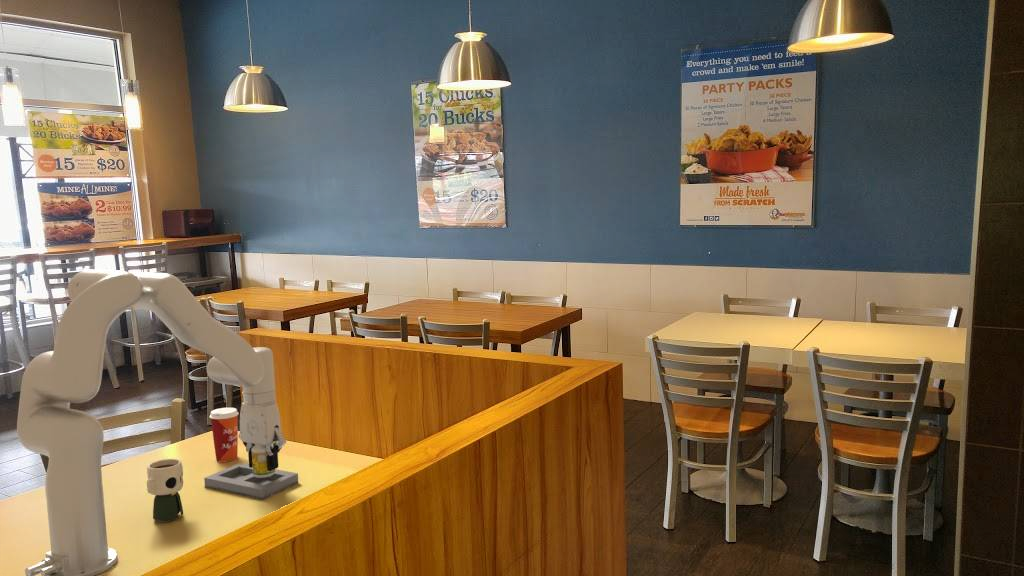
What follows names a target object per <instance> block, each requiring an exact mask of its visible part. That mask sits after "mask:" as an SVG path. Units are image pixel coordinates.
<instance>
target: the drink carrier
mask: <svg viewBox="0 0 1024 576" xmlns="http://www.w3.org/2000/svg"><path fill="white" fill-rule="evenodd" d="M203 480H204V488H206V489H211V490H216V491H221V492H226V493H231V494H235V495H241V496H244V497H248V498H253V499H256V500H257V499H258V500H266V499H268V498H270V497H273V496H274V495H277V494H278V493H281V492H282V491H285V490H288V489H289V488H290V487H291V488H292V486H295V485H297V484H299V473H298V472H292V471H287V470H282V469H278V468H276V469H275V473H274V475H272V476H270V477H265V478H257V477H254V475H253V467H252V468H250V467H249V463H244V462H239V463H237V464H235V465H232V466H230V467H227V468H225V469H222V470H219V471H217V472H215V473H212V474H210V475H207V476H205V477H204V478H203Z"/></svg>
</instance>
